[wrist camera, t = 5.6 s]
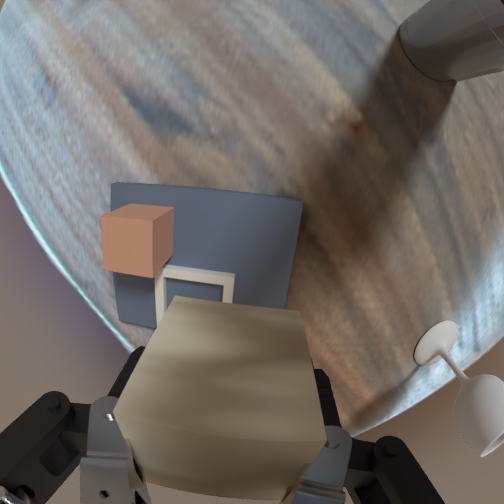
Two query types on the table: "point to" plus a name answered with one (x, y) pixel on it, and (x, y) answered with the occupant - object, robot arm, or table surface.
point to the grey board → (212, 249)
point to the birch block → (223, 401)
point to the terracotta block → (137, 239)
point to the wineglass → (468, 392)
